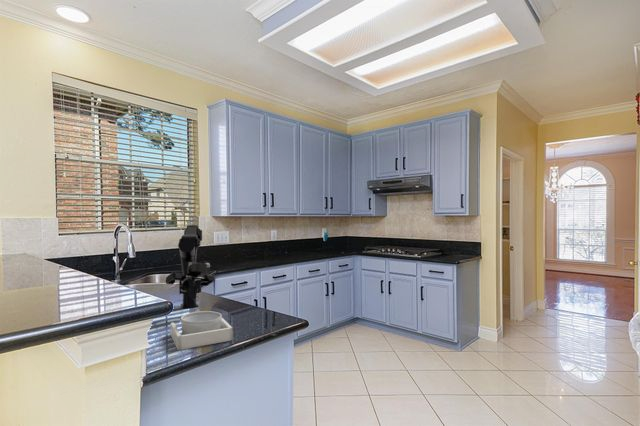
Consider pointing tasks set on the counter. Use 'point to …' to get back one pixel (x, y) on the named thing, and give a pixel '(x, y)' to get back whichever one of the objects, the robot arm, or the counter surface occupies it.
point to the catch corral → (202, 336)
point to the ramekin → (200, 322)
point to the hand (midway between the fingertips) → (193, 299)
